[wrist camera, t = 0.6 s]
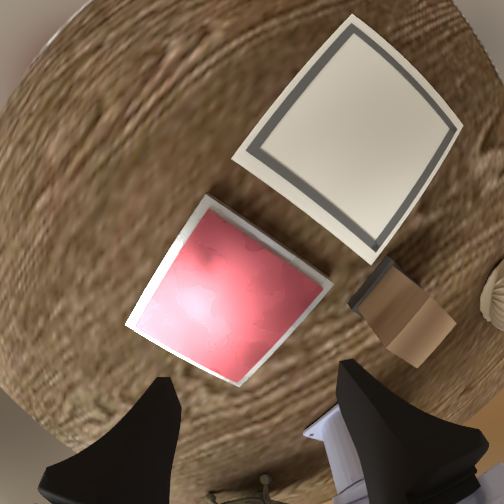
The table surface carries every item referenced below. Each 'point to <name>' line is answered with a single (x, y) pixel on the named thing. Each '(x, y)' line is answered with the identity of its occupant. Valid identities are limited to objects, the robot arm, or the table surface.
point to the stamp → (401, 313)
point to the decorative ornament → (494, 297)
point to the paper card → (353, 138)
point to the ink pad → (227, 294)
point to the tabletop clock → (260, 500)
